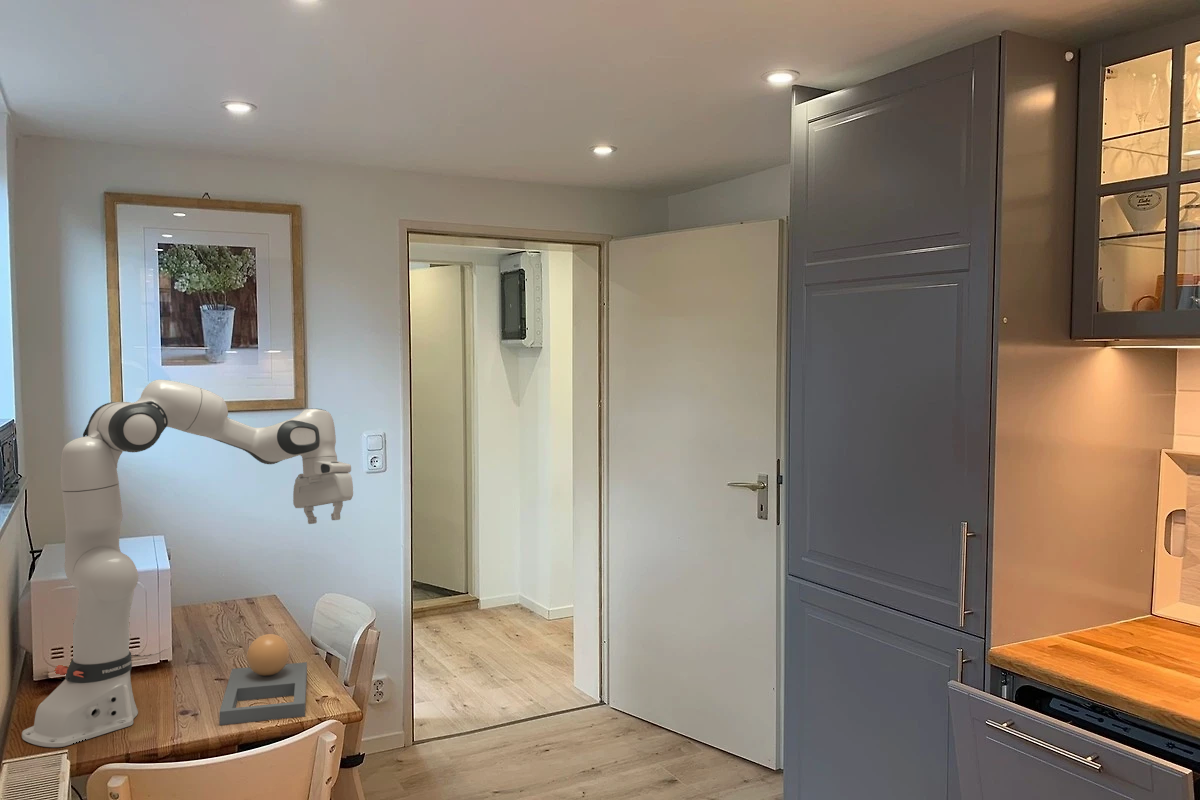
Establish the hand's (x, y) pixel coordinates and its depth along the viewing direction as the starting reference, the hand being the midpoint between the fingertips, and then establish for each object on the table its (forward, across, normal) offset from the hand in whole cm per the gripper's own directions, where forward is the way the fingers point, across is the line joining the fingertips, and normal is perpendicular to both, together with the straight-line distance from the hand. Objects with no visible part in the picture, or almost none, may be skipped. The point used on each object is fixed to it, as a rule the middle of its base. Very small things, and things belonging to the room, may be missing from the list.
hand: (324, 521), depth 230 cm
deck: (+41, -3, -18) cm, 45 cm away
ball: (+32, -7, -14) cm, 35 cm away
